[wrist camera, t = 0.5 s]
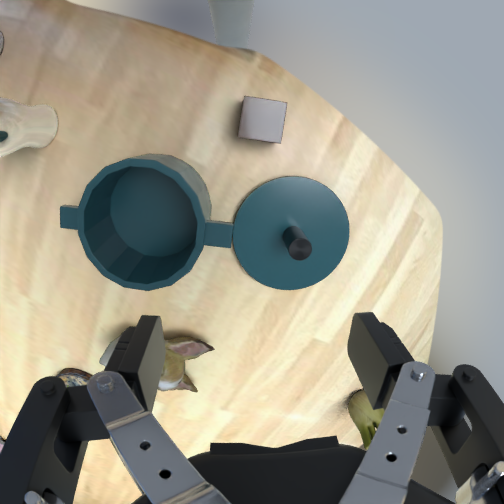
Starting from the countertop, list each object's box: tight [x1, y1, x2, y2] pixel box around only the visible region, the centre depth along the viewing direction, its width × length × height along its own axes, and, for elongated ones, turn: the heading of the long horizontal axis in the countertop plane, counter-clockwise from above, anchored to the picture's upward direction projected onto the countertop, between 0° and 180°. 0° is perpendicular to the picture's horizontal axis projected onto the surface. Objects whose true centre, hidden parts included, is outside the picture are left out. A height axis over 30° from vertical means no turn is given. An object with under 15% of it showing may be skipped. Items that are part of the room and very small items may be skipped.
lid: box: [233, 176, 349, 290], centre depth 37 cm, size 15×15×6 cm
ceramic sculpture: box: [99, 328, 215, 392], centre depth 42 cm, size 11×9×15 cm
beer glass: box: [0, 97, 58, 158], centre depth 26 cm, size 7×7×15 cm
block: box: [238, 96, 287, 144], centre depth 33 cm, size 4×4×4 cm
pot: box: [60, 154, 234, 291], centre depth 34 cm, size 14×19×8 cm
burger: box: [56, 369, 92, 387], centre depth 45 cm, size 12×12×8 cm
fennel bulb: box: [348, 390, 385, 450], centre depth 46 cm, size 6×5×12 cm
